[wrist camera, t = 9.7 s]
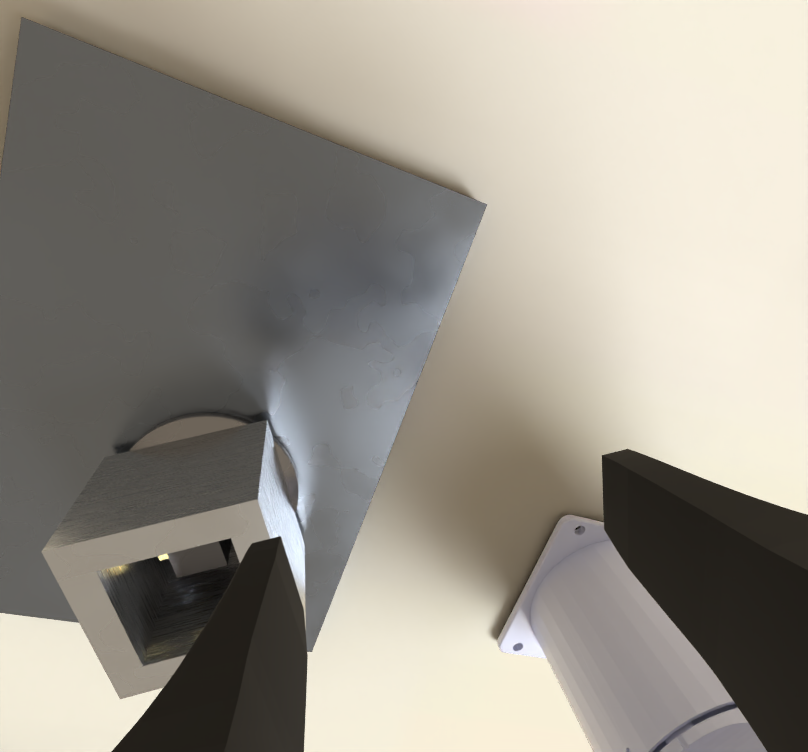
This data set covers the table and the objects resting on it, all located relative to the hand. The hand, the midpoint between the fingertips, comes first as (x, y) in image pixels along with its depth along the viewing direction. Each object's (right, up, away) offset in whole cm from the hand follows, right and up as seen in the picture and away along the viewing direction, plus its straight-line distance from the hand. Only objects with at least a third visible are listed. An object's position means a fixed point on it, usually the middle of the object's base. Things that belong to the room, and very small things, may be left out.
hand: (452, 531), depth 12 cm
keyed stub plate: (-8, +2, +8) cm, 12 cm away
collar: (-8, -1, +8) cm, 12 cm away
